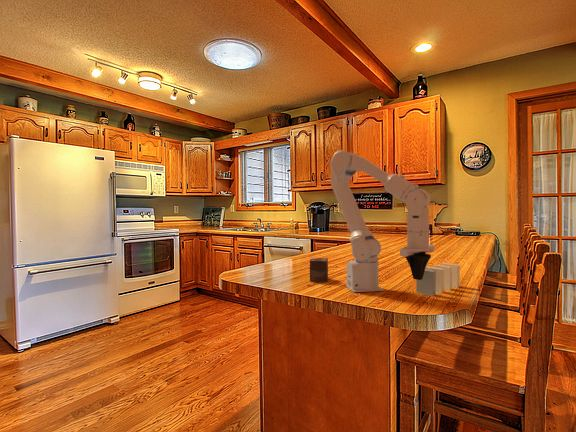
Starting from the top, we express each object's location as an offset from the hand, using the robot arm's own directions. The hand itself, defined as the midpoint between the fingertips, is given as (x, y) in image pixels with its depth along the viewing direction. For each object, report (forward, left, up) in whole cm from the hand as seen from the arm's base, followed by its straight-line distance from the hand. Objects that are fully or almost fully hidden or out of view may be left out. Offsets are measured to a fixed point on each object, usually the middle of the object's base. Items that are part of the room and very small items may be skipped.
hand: (417, 279), depth 89 cm
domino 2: (+8, +5, -5) cm, 11 cm away
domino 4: (+17, +10, -5) cm, 20 cm away
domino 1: (+4, +2, -5) cm, 7 cm away
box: (-23, +24, -5) cm, 34 cm away
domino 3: (+12, +7, -5) cm, 15 cm away
